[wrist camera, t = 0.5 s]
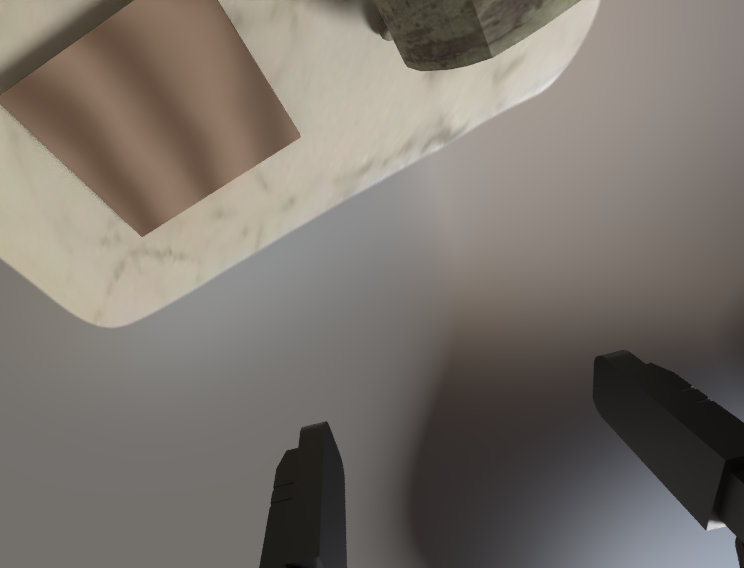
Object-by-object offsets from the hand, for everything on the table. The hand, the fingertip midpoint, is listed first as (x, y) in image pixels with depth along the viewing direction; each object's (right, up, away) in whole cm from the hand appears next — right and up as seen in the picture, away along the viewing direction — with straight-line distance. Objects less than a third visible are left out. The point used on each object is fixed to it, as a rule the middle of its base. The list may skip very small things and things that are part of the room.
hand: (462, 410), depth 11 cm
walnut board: (-18, +17, +17) cm, 30 cm away
